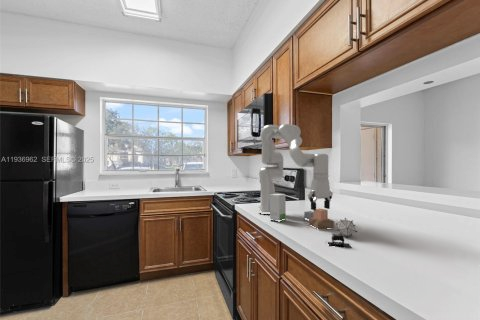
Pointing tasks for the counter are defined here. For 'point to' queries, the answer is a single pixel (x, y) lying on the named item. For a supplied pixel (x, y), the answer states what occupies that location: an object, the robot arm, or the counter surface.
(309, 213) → the slate grey cube
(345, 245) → the black bracket block
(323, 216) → the terracotta cube
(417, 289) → the counter surface
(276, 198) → the skincare box
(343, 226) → the grey spiked ball
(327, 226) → the walnut block
